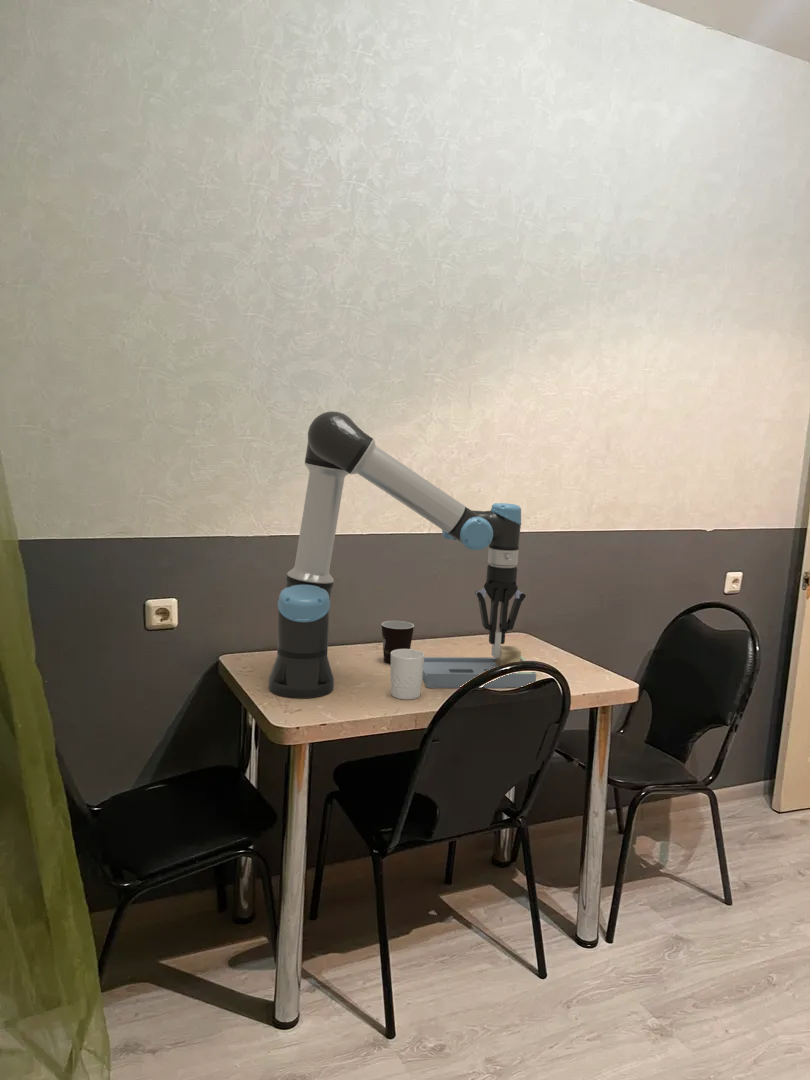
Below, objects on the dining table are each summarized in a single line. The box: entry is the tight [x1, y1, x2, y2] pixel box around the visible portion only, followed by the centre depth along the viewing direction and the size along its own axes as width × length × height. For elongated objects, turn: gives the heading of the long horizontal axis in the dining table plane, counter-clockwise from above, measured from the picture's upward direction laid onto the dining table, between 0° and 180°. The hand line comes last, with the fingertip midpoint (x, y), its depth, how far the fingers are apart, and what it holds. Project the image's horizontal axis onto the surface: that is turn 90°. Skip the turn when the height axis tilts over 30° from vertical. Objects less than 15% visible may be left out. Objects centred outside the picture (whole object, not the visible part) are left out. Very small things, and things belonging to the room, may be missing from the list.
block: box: [495, 645, 522, 666], centre depth 207 cm, size 5×5×4 cm
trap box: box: [422, 654, 537, 689], centre depth 203 cm, size 27×14×4 cm, turn 99°
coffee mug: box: [381, 620, 415, 665], centre depth 215 cm, size 12×9×10 cm
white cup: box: [390, 648, 426, 700], centre depth 188 cm, size 8×8×10 cm
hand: (495, 656), depth 206 cm, fingers closed
